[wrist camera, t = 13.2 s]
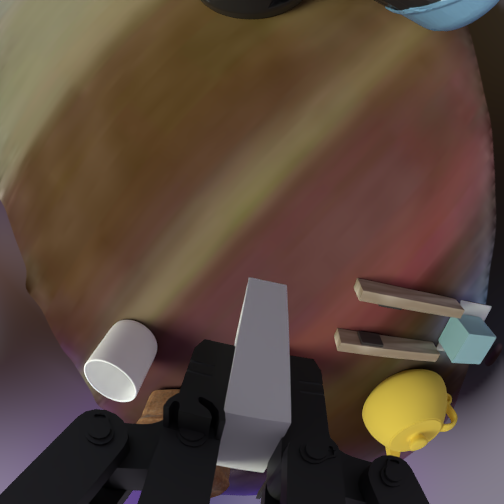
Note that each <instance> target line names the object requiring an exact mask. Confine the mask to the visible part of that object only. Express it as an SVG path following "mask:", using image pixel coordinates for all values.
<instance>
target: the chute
mask: <svg viewBox="0 0 504 504" xmlns="http://www.w3.org/2000/svg"><path fill="white" fill-rule="evenodd" d="M354 290H355V292H356V294H357V296H358V299H359V301H364V302H370V303H375V304H378V305H379V306H382V307H387V308H393V309H399V310H401V309H408V310H413V311H419V312H425V313H430V314H436V315H442V316H448V317H454V318H460V319H461V317H462V315H463V313H464V311H465V310H464V309H463V307H462V306H461V305H460V304H459V303H458V302H457V300H456V299H454V298H449V297H445V296H440V295H435V294H430V293H426V292H421V291H416V290H411V289H407V288H402V287H397V286H392V285H388V284H383V283H378V282H374V281H369V280H364V279H359V278H357V280H356V283H355V285H354ZM334 338H335V342H336V347H337V351H342V352H350V353H357V354H365V355H373V356H381V357H390V358H400V359H410V360H421V361H433V362H436V360H437V359H438V357H439V356H440V354H439V352H438V350H437V349H436V347H435V345H434V343H433V342H430V341H422V340H414V339H406V338H399V337H391V336H384V335H379V334H376V333H369V332H363V331H352V330H345V329H339V328H337V330H336V333H335V335H334Z"/></svg>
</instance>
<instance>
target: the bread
mask: <svg viewBox="0 0 504 504" xmlns="http://www.w3.org/2000/svg"><path fill="white" fill-rule="evenodd" d="M179 391H180V389H166V390H156V391H154V392H152V393H151V395H150V397H149V399H148V401H147V404H146V406H145V408H144V411H143V414H142V417H141V418H140V419H139V420H138V422H137V424H152V423H156V422H159V421H161V420H163V406H164V404H165V403H166V401H167V400H168V399H169V398H170V397H172V396H174V395H175V394H177V393H179ZM229 474H230V468H229V467H223V466H218V465H216V469H215V475H214V480H213V486H212V492H211V497H210V498H212V497H215V496H218V495H220V494H222V493H223V492H224V491H226V489H227V488H228V487H229V480H228V479H229Z"/></svg>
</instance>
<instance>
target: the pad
mask: <svg viewBox="0 0 504 504" xmlns="http://www.w3.org/2000/svg"><path fill="white" fill-rule="evenodd" d="M460 305H461V306H462V307H463V309H464V310H465V311H464V313H463V314H464V315H470V316H475V317H480V318H481V319H482V320H483V321H484V320H485V318H486V317H487V315H488V313H489V311H490V308H491V306H488V305H483V304H478V303H473V302H468V301H464V300H461V302H460ZM436 349H437V350H440V351H445V350H444V349H443V347H442V345H441V344H440V342H439V343H438V345H437V347H436Z"/></svg>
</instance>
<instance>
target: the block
mask: <svg viewBox="0 0 504 504" xmlns="http://www.w3.org/2000/svg"><path fill="white" fill-rule="evenodd" d="M495 339H496V336H495V335H494V333H493V332H492V331H491V330H490V329H489V328H488V326H487V325H486V324H485V323H484V321H483V320H482V319H481V318H480V317H475V316H470V315H464V314H463V315H462V317H461V319H460V318H454V317H450V319H449V321H448V323H447V325H446V327H445V329H444V330H443V332H442V334H441V336H440V338H439V339H438V341H439V342H440V344H441V345H442V347H443V349H444V350H445V352H446V354H447V355H448V357H449V359H450V360H451V362H452V363H467V364H480V363H481V361H482V359H483V358H484V357H485V355H486V354H487V352H488V350H489V349H490V347H491V346H492V344H493V342H494V341H495Z"/></svg>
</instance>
